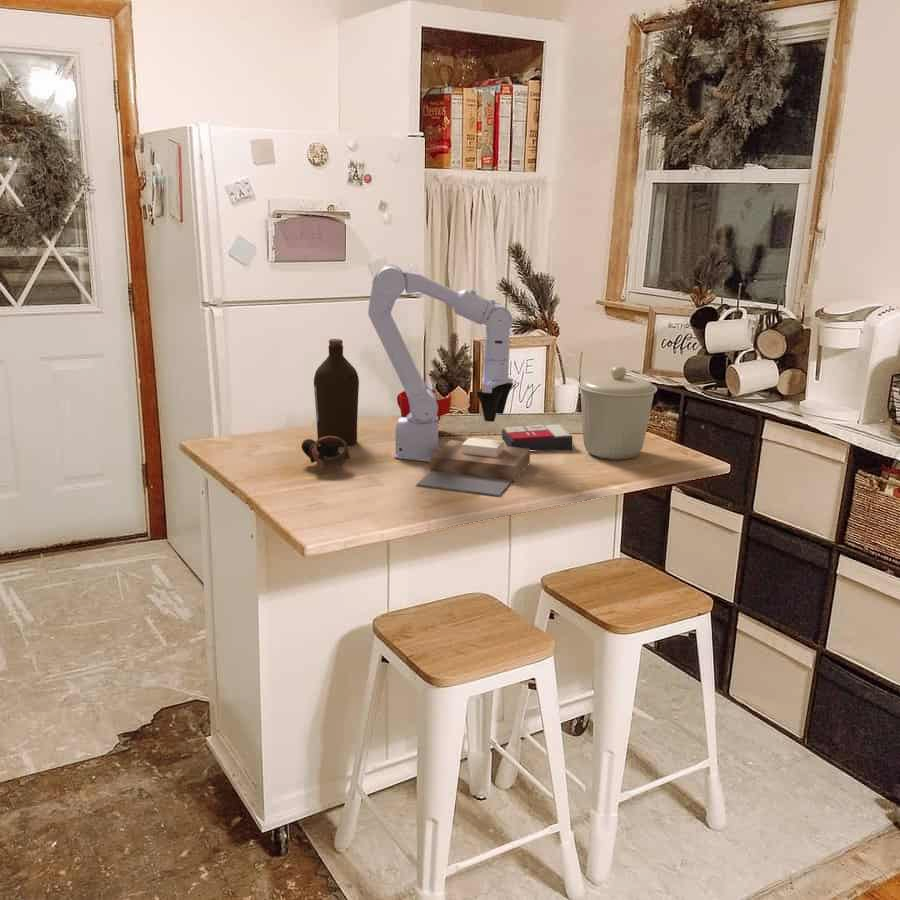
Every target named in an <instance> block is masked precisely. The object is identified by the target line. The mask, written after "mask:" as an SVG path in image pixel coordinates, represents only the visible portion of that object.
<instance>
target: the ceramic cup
mask: <svg viewBox="0 0 900 900" xmlns="http://www.w3.org/2000/svg"><path fill="white" fill-rule="evenodd" d="M430 389H431V390H432V391H433V392H434V393H435V391H434V388H433V389H432V388H430ZM448 393H449V397H448V398H445V399H441V400H436V402H437V404H438V412H437V416H438V417H439V419H438V424H439V420H440V416H441V415H444V414H447V413H449V412H451V406H452V394H451V393H450V392H448ZM396 402H397V405H398V407H399V410H400V415H401V417H407V415H409V413H410V405H409V400H408V397H407V395H406V392H405V390H403V391H402V392H399V393H398V395H397V397H396ZM449 414H450V413H449Z"/></svg>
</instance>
